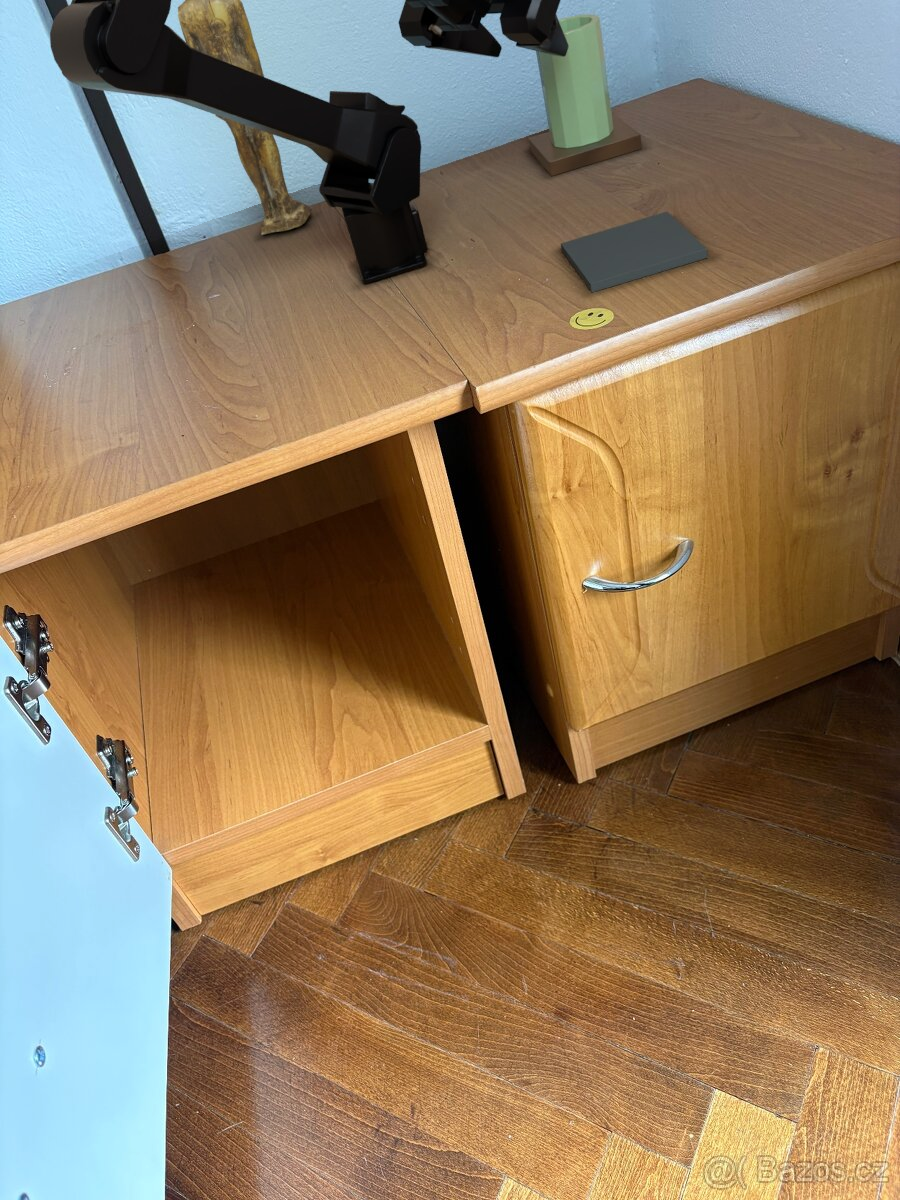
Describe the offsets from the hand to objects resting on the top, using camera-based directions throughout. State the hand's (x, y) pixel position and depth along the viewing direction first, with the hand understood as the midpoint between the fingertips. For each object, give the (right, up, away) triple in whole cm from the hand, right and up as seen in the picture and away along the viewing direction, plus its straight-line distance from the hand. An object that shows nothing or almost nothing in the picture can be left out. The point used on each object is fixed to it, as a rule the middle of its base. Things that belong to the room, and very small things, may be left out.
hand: (531, 51), depth 101 cm
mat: (+8, -25, -14) cm, 29 cm away
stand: (+7, -6, +10) cm, 13 cm away
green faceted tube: (+6, -4, +9) cm, 12 cm away
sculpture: (-27, -13, +14) cm, 33 cm away
